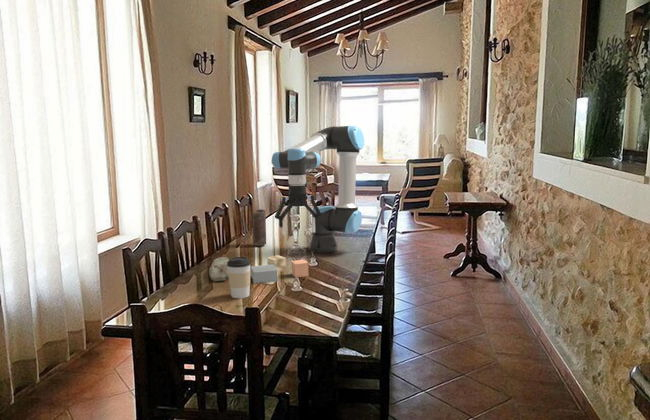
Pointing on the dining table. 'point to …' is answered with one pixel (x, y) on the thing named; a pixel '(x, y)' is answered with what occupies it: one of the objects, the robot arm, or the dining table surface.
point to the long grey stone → (219, 269)
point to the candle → (259, 227)
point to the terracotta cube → (299, 268)
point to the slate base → (264, 273)
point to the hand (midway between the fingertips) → (298, 233)
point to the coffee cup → (239, 276)
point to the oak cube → (277, 262)
